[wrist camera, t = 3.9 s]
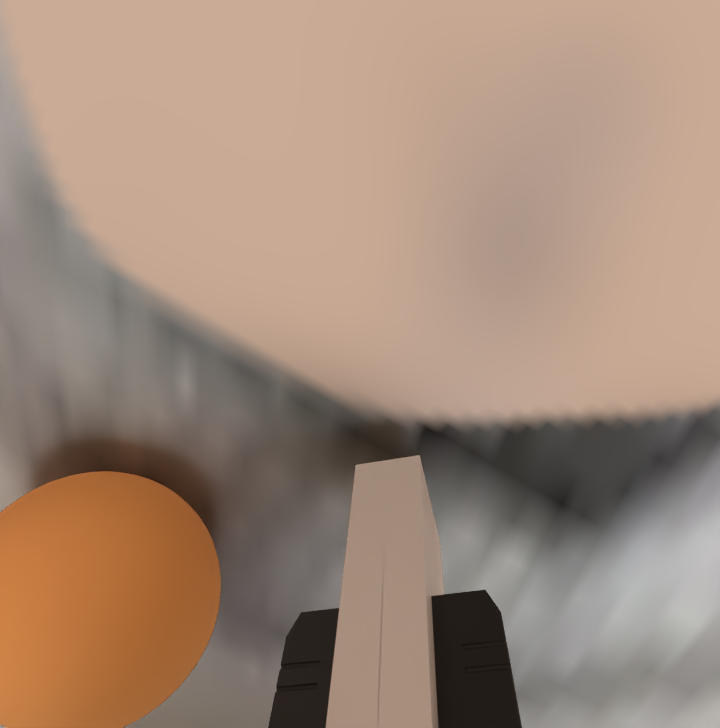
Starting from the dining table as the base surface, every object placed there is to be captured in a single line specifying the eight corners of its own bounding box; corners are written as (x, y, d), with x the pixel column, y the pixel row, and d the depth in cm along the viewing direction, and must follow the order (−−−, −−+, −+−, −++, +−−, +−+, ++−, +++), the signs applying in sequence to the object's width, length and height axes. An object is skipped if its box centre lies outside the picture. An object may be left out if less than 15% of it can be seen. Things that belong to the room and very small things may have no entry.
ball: (274, 569, 18) (221, 786, 13) (100, 599, 19) (-18, 810, 14) (195, 404, 15) (85, 588, 10) (-1, 450, 16) (-194, 637, 11)
